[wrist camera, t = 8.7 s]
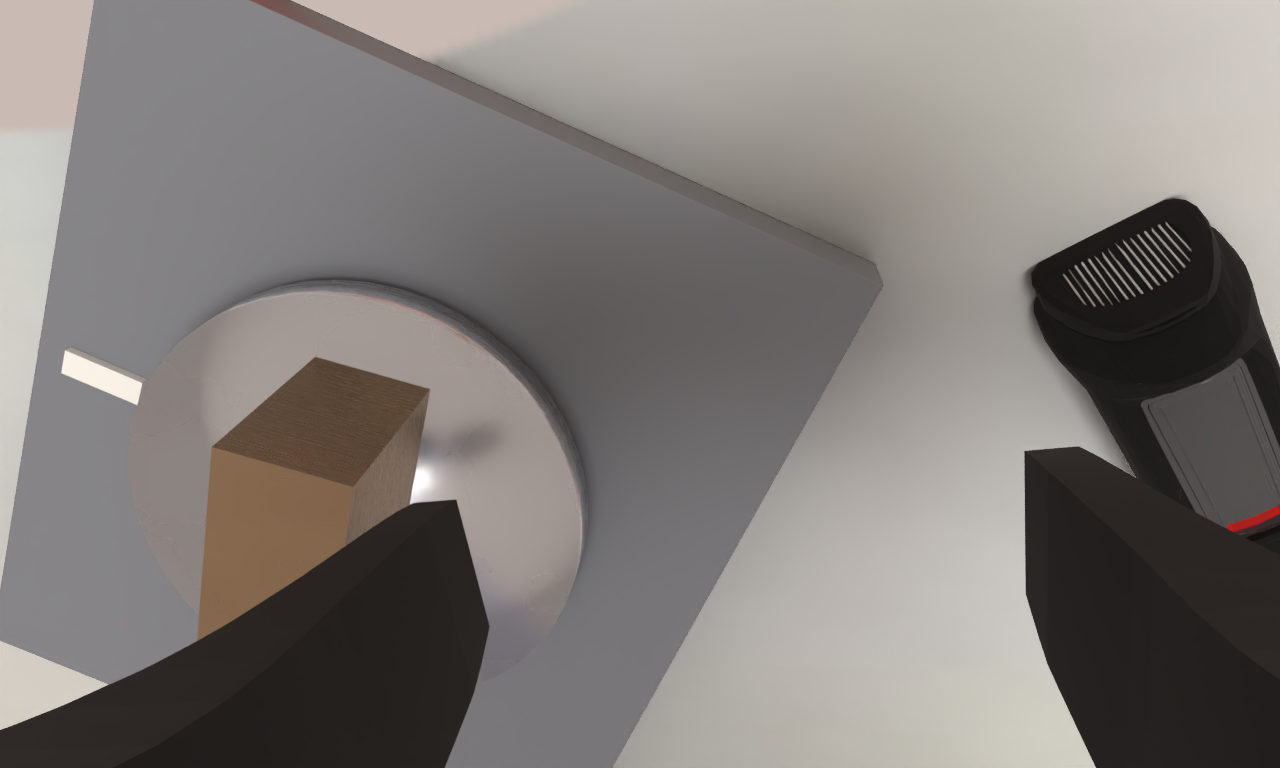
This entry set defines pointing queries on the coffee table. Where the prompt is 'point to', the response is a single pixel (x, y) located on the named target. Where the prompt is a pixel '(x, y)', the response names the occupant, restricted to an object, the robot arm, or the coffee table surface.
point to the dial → (354, 453)
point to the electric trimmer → (1174, 361)
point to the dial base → (435, 269)
